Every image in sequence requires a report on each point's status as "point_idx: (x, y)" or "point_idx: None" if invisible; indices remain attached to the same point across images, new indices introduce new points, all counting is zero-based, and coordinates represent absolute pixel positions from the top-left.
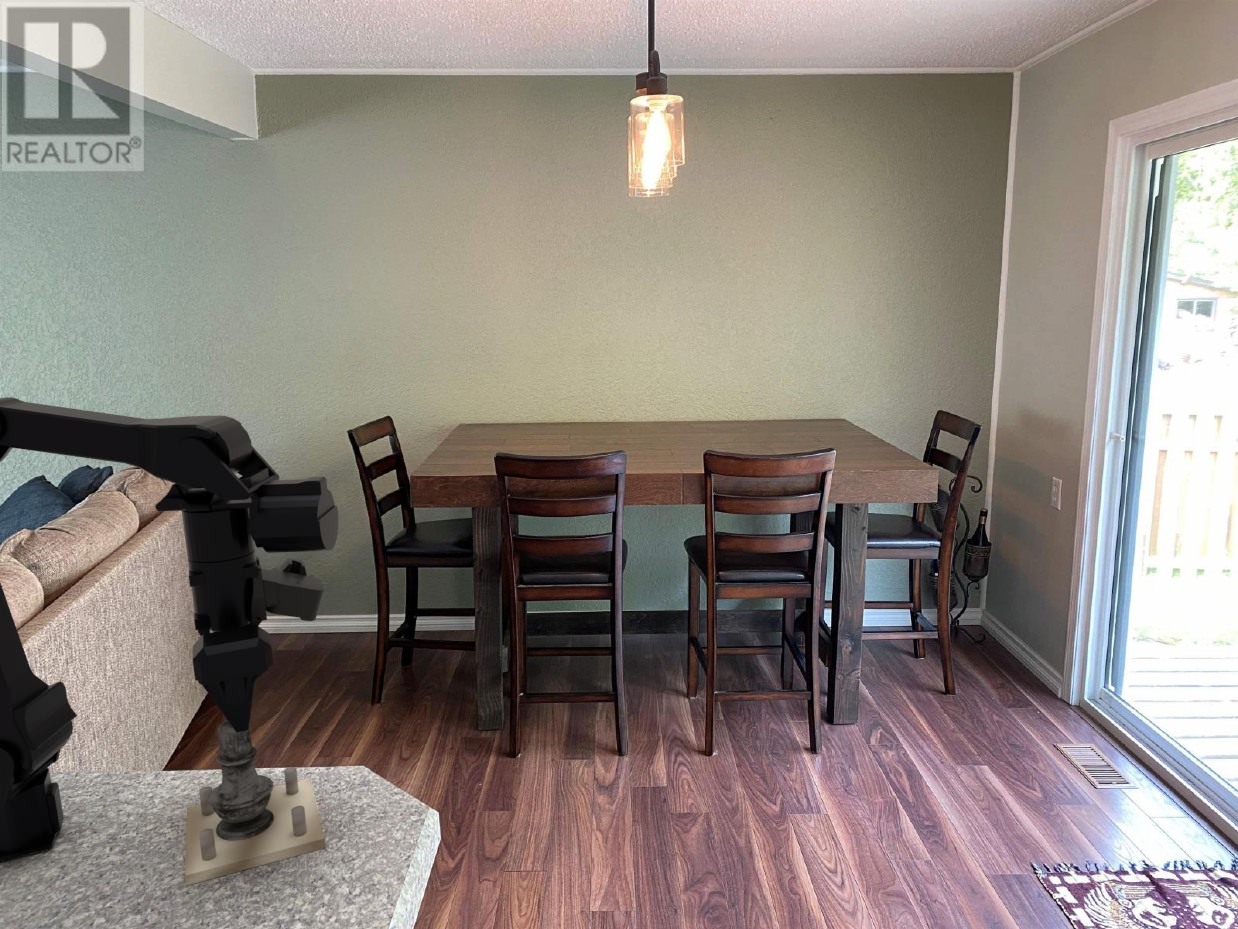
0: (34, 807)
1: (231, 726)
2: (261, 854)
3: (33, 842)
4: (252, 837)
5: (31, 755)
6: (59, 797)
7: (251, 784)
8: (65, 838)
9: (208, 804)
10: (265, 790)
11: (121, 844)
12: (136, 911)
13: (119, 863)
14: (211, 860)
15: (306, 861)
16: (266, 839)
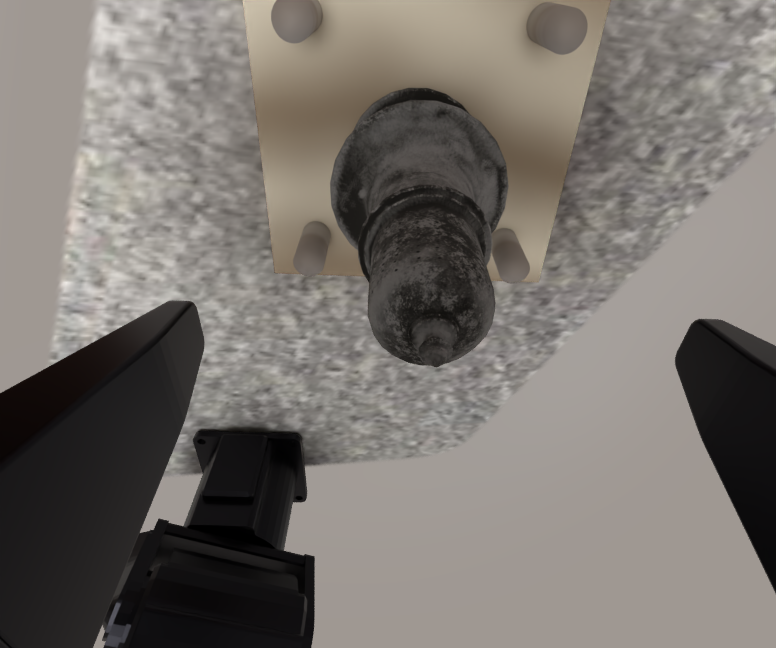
0: (267, 502)
1: (473, 335)
2: (573, 137)
3: (286, 458)
4: None
5: (302, 626)
6: (219, 469)
7: (467, 181)
8: (270, 420)
9: (327, 244)
10: (467, 132)
11: (329, 357)
12: (549, 336)
13: (389, 358)
14: (520, 237)
15: (630, 20)
16: (515, 118)
